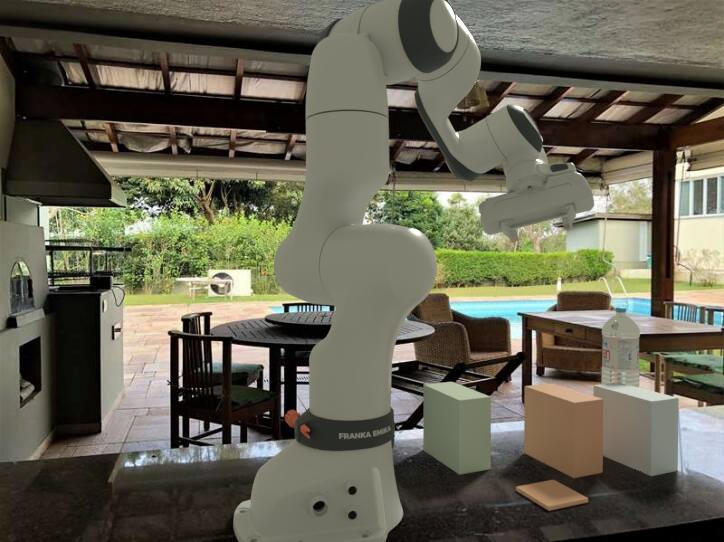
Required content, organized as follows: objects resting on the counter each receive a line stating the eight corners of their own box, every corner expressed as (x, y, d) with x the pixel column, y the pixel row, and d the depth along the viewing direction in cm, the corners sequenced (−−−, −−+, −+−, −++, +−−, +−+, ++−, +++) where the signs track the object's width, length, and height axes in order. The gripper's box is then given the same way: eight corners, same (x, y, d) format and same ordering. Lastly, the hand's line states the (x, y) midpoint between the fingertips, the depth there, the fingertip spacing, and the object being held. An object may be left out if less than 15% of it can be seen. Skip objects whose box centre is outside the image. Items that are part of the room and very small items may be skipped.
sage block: (459, 474, 87) (459, 400, 86) (423, 450, 98) (423, 384, 97) (490, 469, 89) (490, 396, 89) (452, 446, 100) (452, 381, 100)
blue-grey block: (651, 476, 86) (651, 401, 86) (592, 451, 97) (593, 385, 97) (677, 470, 88) (678, 397, 88) (617, 447, 99) (618, 382, 99)
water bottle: (635, 440, 103) (636, 309, 102) (597, 433, 107) (598, 307, 106) (642, 431, 108) (643, 307, 108) (605, 425, 112) (606, 305, 112)
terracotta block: (573, 478, 85) (574, 402, 85) (524, 453, 96) (524, 386, 96) (602, 472, 87) (603, 399, 87) (550, 448, 98) (551, 383, 98)
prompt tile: (548, 510, 74) (548, 506, 74) (516, 490, 80) (516, 486, 80) (588, 502, 76) (588, 498, 76) (553, 483, 83) (553, 479, 83)
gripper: (474, 189, 107) (478, 234, 97) (582, 160, 101) (598, 204, 91) (482, 213, 111) (486, 258, 101) (586, 186, 104) (602, 232, 95)
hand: (540, 233), depth 96 cm, fingers open, 8 cm apart
